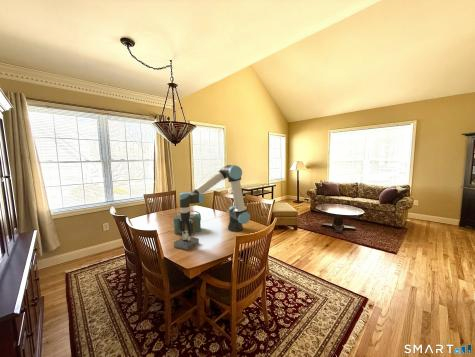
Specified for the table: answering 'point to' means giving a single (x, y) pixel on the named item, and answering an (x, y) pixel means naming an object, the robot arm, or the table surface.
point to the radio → (194, 217)
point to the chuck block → (186, 243)
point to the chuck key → (185, 235)
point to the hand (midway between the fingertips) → (186, 239)
